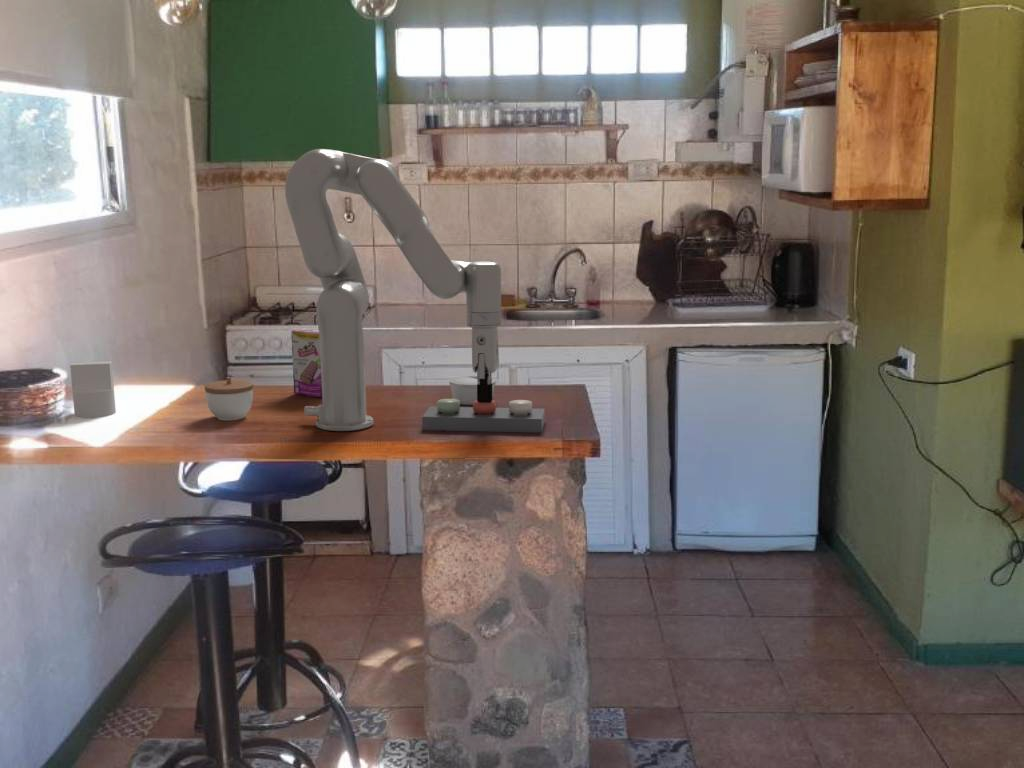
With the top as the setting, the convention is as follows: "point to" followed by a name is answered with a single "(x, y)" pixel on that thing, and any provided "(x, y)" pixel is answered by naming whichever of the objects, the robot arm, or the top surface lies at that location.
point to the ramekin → (466, 389)
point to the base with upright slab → (93, 389)
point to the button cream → (520, 407)
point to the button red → (484, 407)
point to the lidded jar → (229, 398)
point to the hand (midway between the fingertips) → (484, 401)
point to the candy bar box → (306, 362)
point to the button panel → (484, 420)
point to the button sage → (448, 406)
